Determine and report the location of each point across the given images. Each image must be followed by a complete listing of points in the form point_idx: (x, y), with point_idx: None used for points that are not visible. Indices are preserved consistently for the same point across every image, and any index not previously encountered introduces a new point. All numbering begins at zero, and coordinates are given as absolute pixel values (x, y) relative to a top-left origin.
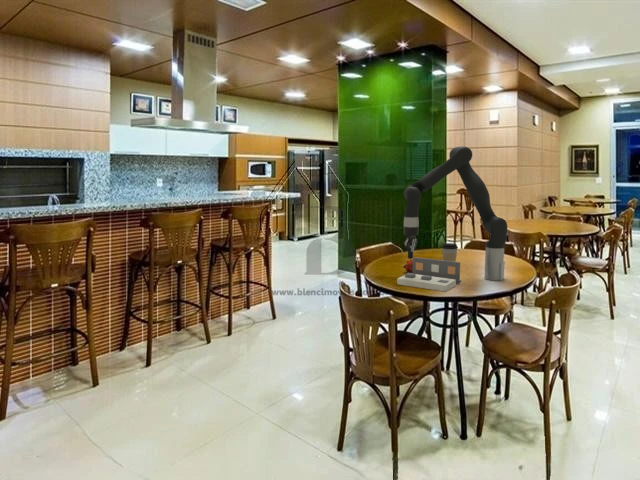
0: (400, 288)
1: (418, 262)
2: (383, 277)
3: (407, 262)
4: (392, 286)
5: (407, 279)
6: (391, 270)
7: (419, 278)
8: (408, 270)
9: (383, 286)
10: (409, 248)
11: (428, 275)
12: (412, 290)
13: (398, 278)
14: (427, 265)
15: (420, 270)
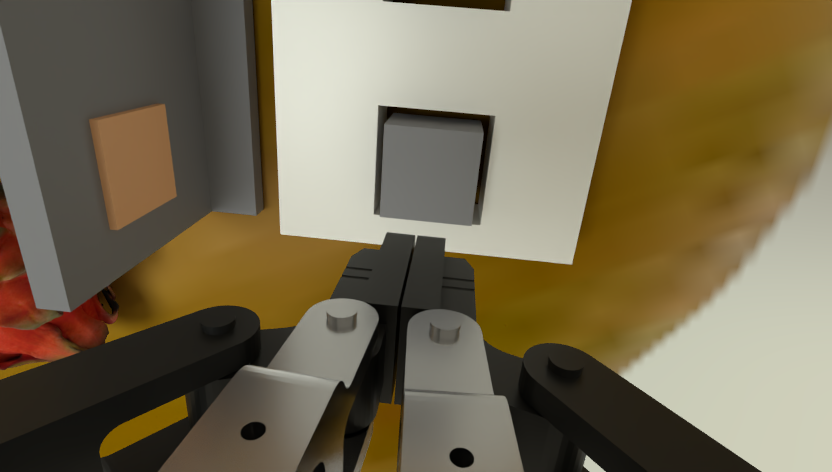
0: (717, 155)
1: (102, 193)
2: (381, 408)
3: (10, 360)
4: (661, 249)
5: (572, 152)
6: (129, 424)
7: (462, 34)
8: (97, 296)
9: (688, 316)
10: (680, 428)
11: (180, 16)
12: (770, 4)
13: (563, 254)
14: (95, 33)
15: (165, 134)
